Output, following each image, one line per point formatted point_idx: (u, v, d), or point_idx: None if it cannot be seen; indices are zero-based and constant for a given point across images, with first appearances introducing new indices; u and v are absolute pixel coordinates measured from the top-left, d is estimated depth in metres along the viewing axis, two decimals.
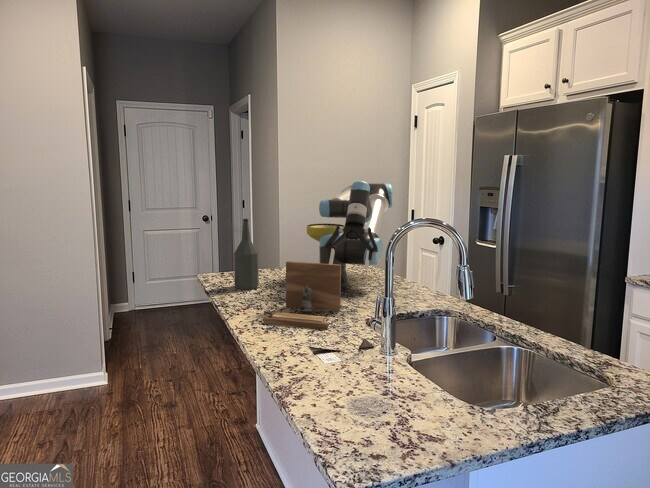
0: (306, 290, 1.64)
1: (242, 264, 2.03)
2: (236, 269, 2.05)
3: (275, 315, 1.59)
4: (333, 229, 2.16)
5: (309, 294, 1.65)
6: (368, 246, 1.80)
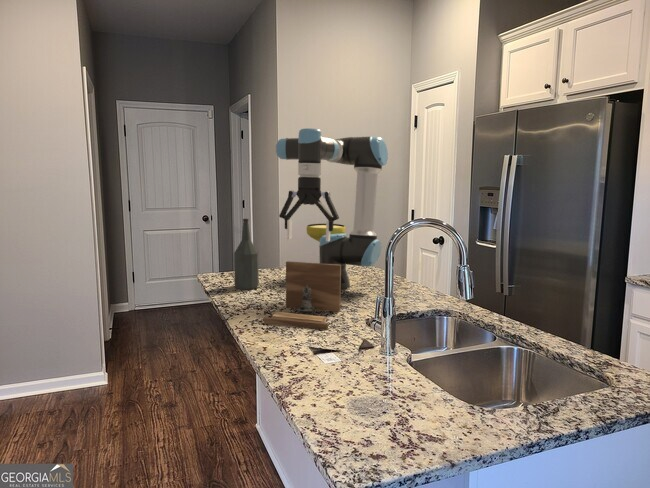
0: (306, 290, 1.64)
1: (242, 264, 2.03)
2: (236, 269, 2.05)
3: (275, 315, 1.59)
4: (333, 229, 2.16)
5: (309, 294, 1.65)
6: (327, 216, 1.59)
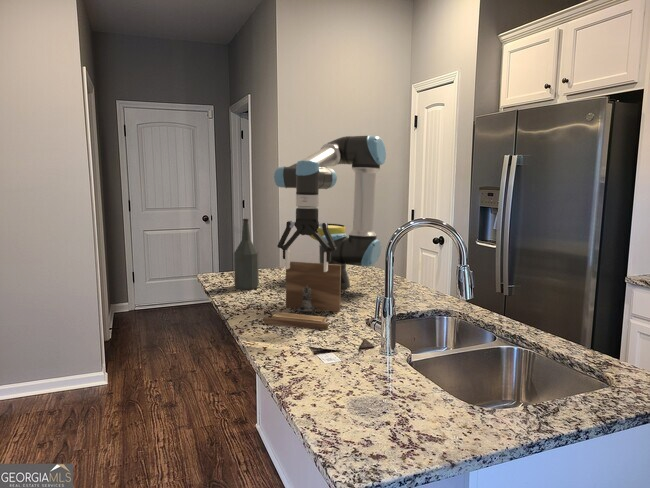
0: (306, 290, 1.64)
1: (242, 264, 2.03)
2: (236, 269, 2.05)
3: (275, 315, 1.59)
4: (333, 229, 2.16)
5: (309, 294, 1.65)
6: (325, 247, 1.60)
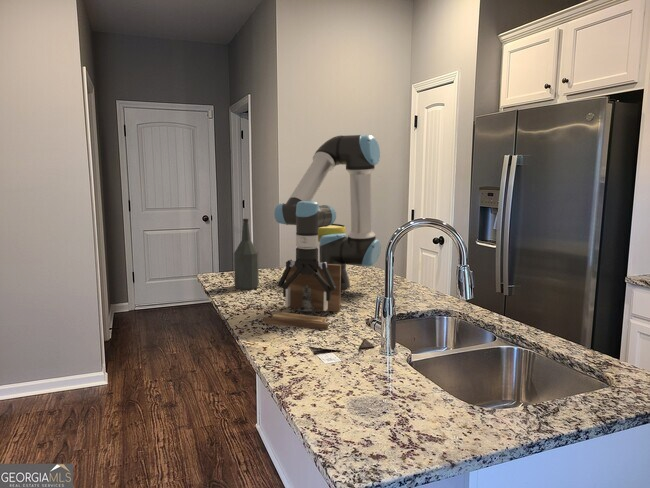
0: (306, 290, 1.64)
1: (242, 264, 2.03)
2: (236, 269, 2.05)
3: (276, 315, 1.60)
4: (333, 229, 2.16)
5: (309, 294, 1.65)
6: (324, 287, 1.62)
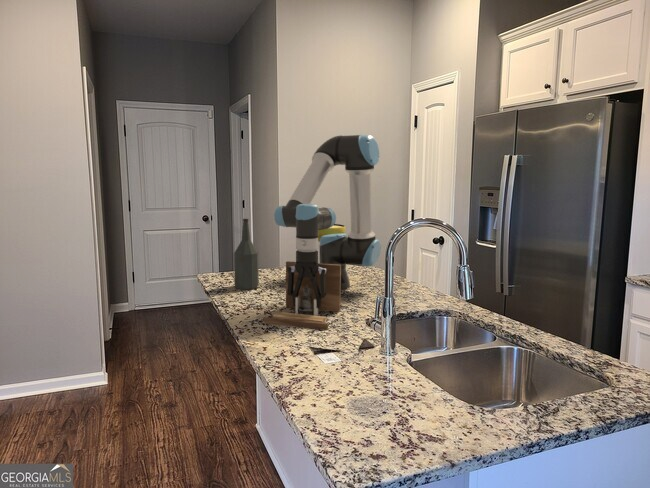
0: (306, 290, 1.64)
1: (242, 264, 2.03)
2: (236, 269, 2.05)
3: (276, 315, 1.59)
4: (333, 229, 2.16)
5: (309, 294, 1.65)
6: (316, 293, 1.64)
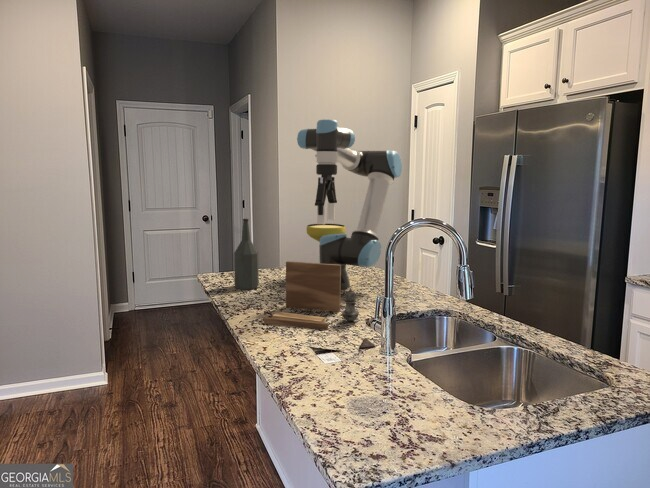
0: (346, 292, 1.59)
1: (242, 264, 2.03)
2: (236, 269, 2.05)
3: (275, 314, 1.60)
4: (333, 229, 2.16)
5: (347, 297, 1.58)
6: None
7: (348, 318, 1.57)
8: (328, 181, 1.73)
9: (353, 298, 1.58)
